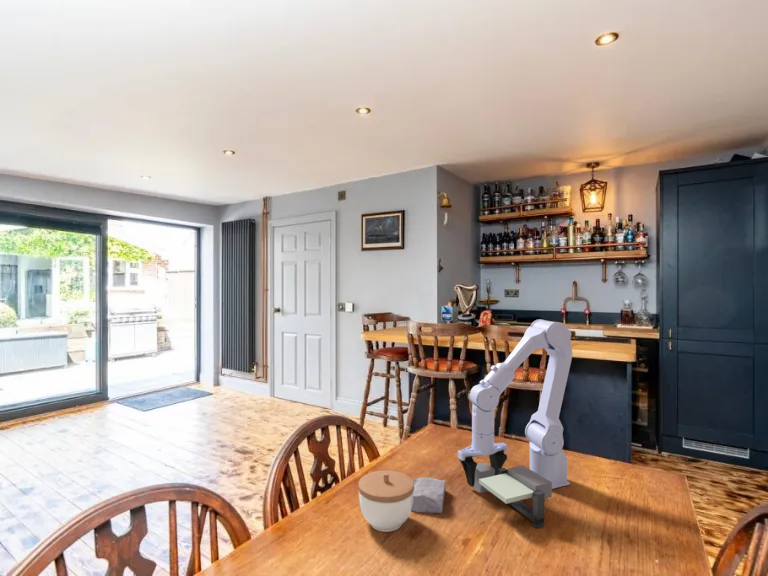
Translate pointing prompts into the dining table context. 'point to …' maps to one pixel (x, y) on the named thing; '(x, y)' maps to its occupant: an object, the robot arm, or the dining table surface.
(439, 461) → the dining table surface
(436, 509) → the stone block
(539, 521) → the frame
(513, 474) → the trapdoor
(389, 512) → the lidded bowl
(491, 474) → the grey rectangular block
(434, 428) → the dining table surface
